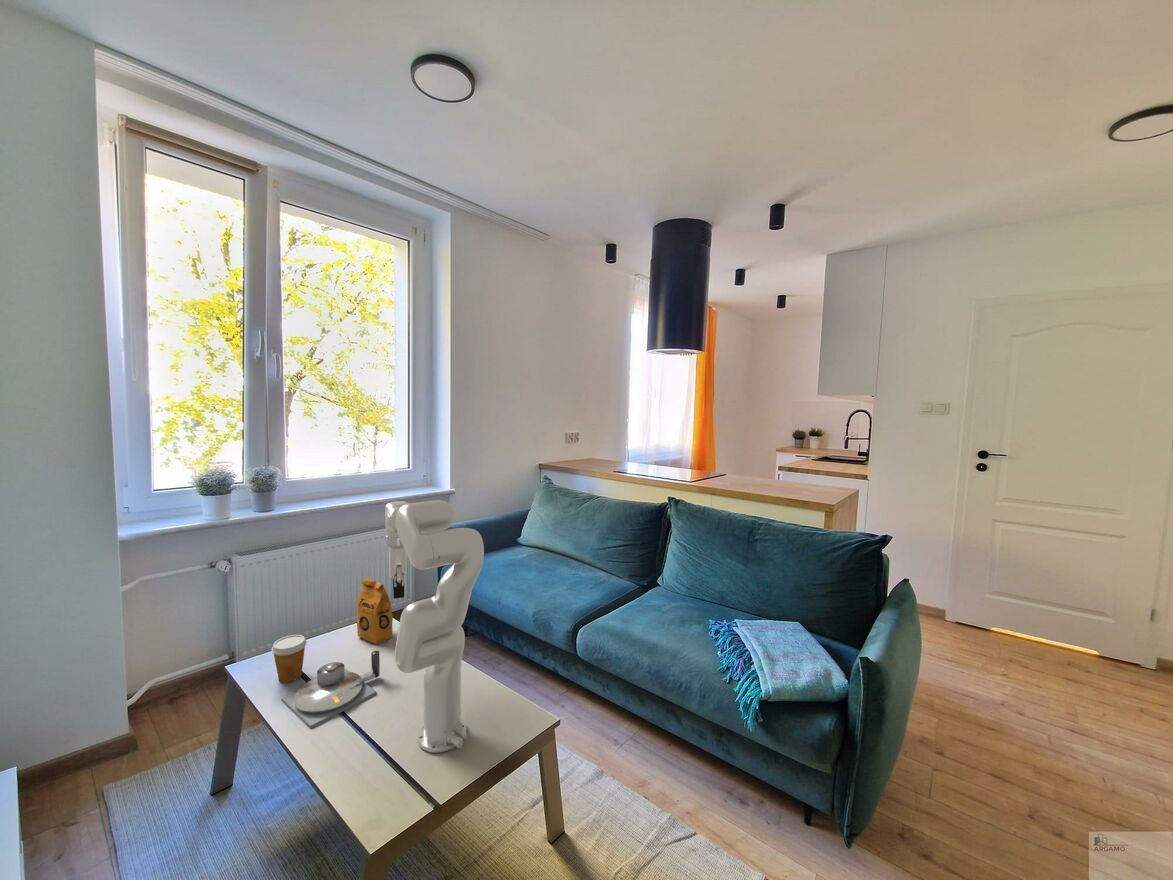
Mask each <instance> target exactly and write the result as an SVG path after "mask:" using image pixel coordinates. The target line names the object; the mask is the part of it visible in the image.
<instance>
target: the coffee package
mask: <svg viewBox="0 0 1173 880" xmlns="http://www.w3.org/2000/svg"><path fill="white" fill-rule="evenodd" d="M361 584H362V587H361V589H360V592H359V595H358V597H357V600H356V627H357V628H356V629H357V632H356V633H357V634H356V635H357V637H359V638H361V639H364V640H365V641H367V642H370V643H373V644H375V645H379V644H381V643H384V642H385V641H388V640H390V639H391V638H393V621H394V620H393V619H394V617H393V613H392V612H393V611H392V604H391V600H390V597H389V595H388V593H387V590H386V588H385V586H384V584H382V583H381V582H379V581H378V580H372V579H369V578H364V579H363V580H362V581H361Z"/></svg>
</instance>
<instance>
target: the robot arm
mask: <svg viewBox="0 0 1173 880" xmlns="http://www.w3.org/2000/svg"><path fill="white" fill-rule="evenodd" d="M384 511H385V513H384V514H385V515H384V518H385V522H384V523H385V526H384V527H385V528H384V529H385V547H386V548H388V575H389V578H390V579H392V591H393V599H400V598H401V599H402V598H405V584H404V583H405V582H404V580H405V579H404V577H406V574H407V558H408V560H409V562H410V564H411V566H412V567H413V568H414V569H417V570H421V571H423V570H430V569H433V568H440V567H443V566H448V565H451V566H450V567H449V568H448V569H447V570H446V571H445V572H444V573H443V575H442V576H441V578H440V580H439V582H438V583H437V587H436V592H435V595H433V596H431V597H428V598H424V599H420V600H418V601H417V600H416V601H413V602H412V603H411V602H410V604H408V605H407V606H405V607H404V609H403V610H402V612H401V613H400V614H401V615H400V619H399V623H398V624H399V625H398V629H397V631H398V632H397V637H396V642H395V648H394V658H395V659H394V660H395V663H396V666H397V669H399V671H401V672H402V673H405V674H411V673H414V672H418V671H421V670H424V669H426V670H425V672H424V673H425V674H424V677H423V725H422V727H421V728H420V730H419V732H418V735H417V743H418V745H419V747H420V748H421V749H422V750H424V751H426V752H429V753H433V754H434V753H444V752H447V751H450V750H452V749H454V748H457V749H461V748H462V747H463V746H464V743H465V742H464V740H466V739H467V738H468V733H467V726H466V723H465V722H464V721H463V720H462V719H461V718H462V717H461V710H462V709H461V708H462V707H461V702H462V701H461V700H462V699H461V698H462V697H461V695H462V693H461V691H462V689H461V687H462V660H463V653H464V649H465V641H466V636H465V635H466V634H465V631H464V628H463V627H462V625H463V624H464V622H465V618H466V617H467V616H466V615H467V612H468V609H469V605H470V604H469V603H470V599H471V595H472V590H473V589H474V585H475V583H476V582H477V579H478V578H479V576H480V574H481V571H482V568H483V564H484V558H485V556H484V555H485V547H484V546H485V545H484V541H483V538H482V535H481V534H480V532H479V531H478V530H476V529H474V528H470V527H457V528H450V527H452V524H453V523H454V520H455V518H456V513H455V509H454V508H453V506H452V505H451V503H449V502H448V501H445V500H439V499H437V500H428V501H420V502H412V503H411V502H410V503H409V502H408V501H403V500H395V501H391V502H388V503H387V504H385V510H384ZM448 528H450V529H448Z"/></svg>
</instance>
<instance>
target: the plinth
mask: <svg viewBox="0 0 1173 880" xmlns="http://www.w3.org/2000/svg"><path fill="white" fill-rule="evenodd" d="M345 671H347V672H350V671H349V670H348V669H347V668H345ZM362 684H363V686H362V690H361V692H360V694H359V695H358V696H357V697H356V698H355V699H354V700H353V701H351V702H350V703H348V704H347V705H345V706H343V707H341V708H338V709H336V710H333V711H329V712H325V713H317V714H310V713H304V712H301V711H299V710H298V709H297V708H296V707H295V694H296V692H297V691H298V690H296V691H294V692H291V693H289V694H287V695H284V696H282V697H281V698H280V699H281V701H282V702H283V704H284V705H286V707H288V709H290V710H291V712H293V713H294V714H295V715H296V716H297V717H298V718H299V719H300V720H301V721H302V722H303V723H304V724H305V725H307V727H308V728H310V729H313V728H314V727H316V726H318V725H320V724H322V723H324V722H326V721H327V720H330V719H332V718H334V717H335V716H337V715H339V714H340V713H343V712H346V710H349V709H350V708H352V707H354V706H357V705H358V704H360V703H362V702H364V701H365V700H368V699H370V698H371V697H373V696H375V695H377V690H375V688H372V687H371V686H369V684H367V683H366V682H363V683H362Z"/></svg>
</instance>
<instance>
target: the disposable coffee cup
mask: <svg viewBox="0 0 1173 880" xmlns="http://www.w3.org/2000/svg"><path fill="white" fill-rule="evenodd" d="M272 645H273V646H272V647H271V652H272V654H273V657H274V663H275V667H276V673H277V678H278V681H279V682H280V683H283V682H285V683H291V681H292V682H294V681H296V680H298V679H299V678H300V677H302V675H303V674H302V673H303V666H304V665H303V664H304V657H305V648H306V645H307V638H305V636H304V635H301V634H290V635H287V636H284V637H281V638H279V639H277V640H276V641H275V642H274V643H273V644H272Z"/></svg>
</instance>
